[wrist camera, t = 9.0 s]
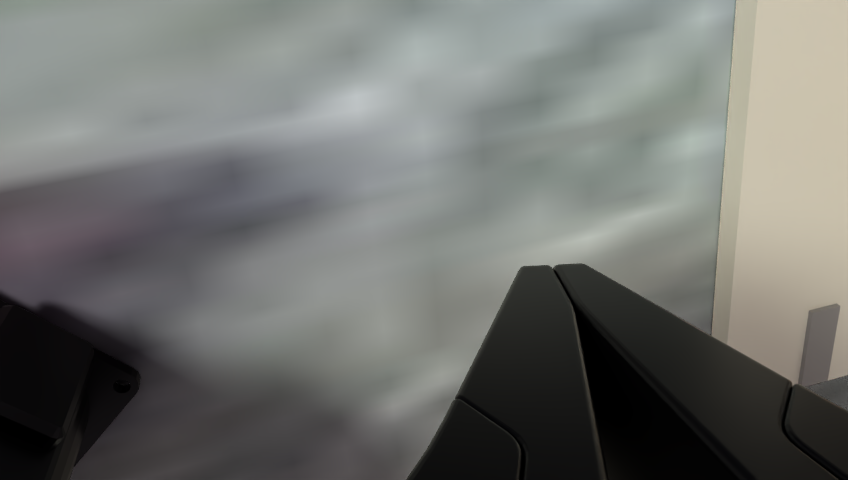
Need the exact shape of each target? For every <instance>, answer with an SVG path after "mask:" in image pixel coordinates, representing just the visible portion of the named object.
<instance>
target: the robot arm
mask: <svg viewBox="0 0 848 480" xmlns="http://www.w3.org/2000/svg"><path fill="white" fill-rule="evenodd" d="M117 380H126V381H128V382H129V383H130V384H129V385H124V386H123V385H119V384H118V383H117V382H116V381H117ZM139 385H140V375H139V373H138V371H136V370H135V369H134V368H132V367H130V366H128V365H126V364H124V363H122V362H120V361H119V360H117V359H115V358H113V357H111V356H109V355H107V354H105V353H103V352H101V351H99V350H97V349H95V348H93V347H92V345H91V344H90V343H89V342H87V341H85V340H83V339H81V338H79V337H77V336H75V335H73V334H71V333H69V332H67V331H65V330H63V329H61V328H59V327H57V326H55V325H54V324H52V323H50V322H48V321H46V320H44V319H42V318H40V317H38V316H36V315H34V314H32V313H30V312H28V311H26V310H24V309H22V308H20V307H19V306H16V305H9V304H7V303H5V302H3V301H1V300H0V480H70V477H71V473H72V470H73V467H74V466H75V465H76V464H77V463H78V462H79V460H80V459H81V458H82V457H83V456H84V454H85V453H86V452H87V451H88V450H89V449H90V447H91V446H92V445H93V444H94V443H95V442H96V440H97V439H98V438H99V437H100V436H101V434H102V433H103V432H104V431H105V430H106V429H107V427H108V426H109V425H110V424H111V423H112V422H113V420H114V419H115V418H116V417H117V416H118V414H119V413H120V412H121V411H122V410H123V409H124V407H125V406H126V405H127V404H128V403H129V401H130V400H131V399H132V398H133V397H134V396H135V394H136V393H137V391H138V389H139ZM406 480H848V411H847V410H845V409H843V408H841V407H839V406H838V405H836V404H834V403H832V402H830V401H828V400H827V399H825V398H823V397H821V396H819V395H818V394H816V393H814V392H812V391H811V390H809V389H807V388H805V387H804V386H802V385H800V384H794V385H793V387H792V382H791V381H790V380H789V379H787V378H785V377H784V376H782V375H780V374H778V373H776V372H775V371H773V370H771V369H769V368H768V367H766V366H764V365H762V364H761V363H759V362H757V361H755V360H753V359H752V358H750V357H748V356H746V355H745V354H743V353H741V352H739V351H738V350H736V349H734V348H732V347H730V346H729V345H727V344H725V343H723V342H722V341H720V340H718V339H716V338H715V337H713V336H711V335H709V334H707V333H706V332H704V331H702V330H700V329H699V328H697V327H695V326H693V325H692V324H690V323H688V322H686V321H684V320H683V319H681V318H679V317H677V316H676V315H674V314H672V313H670V312H669V311H667V310H665V309H663V308H662V307H660V306H658V305H656V304H654V303H653V302H651V301H649V300H647V299H646V298H644V297H642V296H640V295H639V294H637V293H635V292H633V291H631V290H630V289H628V288H626V287H624V286H623V285H621V284H619V283H617V282H616V281H614V280H612V279H610V278H608V277H607V276H605V275H603V274H601V273H600V272H598V271H596V270H594V269H593V268H591V267H589V266H587V265H585V264H581V263H580V264H561V265H556V266H555V267H554V268H553V269H552V267H550V266H548V265H541V266H523V267H521V268H520V270H519V271H518V273H517V275H516V277H515V279H514V281H513V283H512V285H511V287H510V289H509V291H508V293H507V295H506V297H505V299H504V301H503V303H502V305H501V307H500V309H499V311H498V313H497V315H496V317H495V319H494V321H493V323H492V325H491V327H490V329H489V331H488V333H487V335H486V337H485V339H484V341H483V343H482V345H481V347H480V349H479V351H478V353H477V355H476V357H475V359H474V361H473V363H472V365H471V367H470V369H469V371H468V373H467V375H466V377H465V379H464V381H463V383H462V385H461V387H460V389H459V391H458V394H457V396H456V398H455V400H454V401H453V402H452V404H451V406H450V408H449V410H448V412H447V414H446V416H445V418H444V420H443V422H442V423H441V425H440V427H439V429H438V430H437V432H436V434H435V436H434V438H433V439H432V441H431V443H430V445H429V446H428V448H427V450H426V452H425V453H424V454H423V456H422V457H421V459H420V460H419V462H418V463H417V465H416V466H415V468H414V469H413V471H412V472H411V473H410V475H409V476H408V478H407V479H406Z"/></svg>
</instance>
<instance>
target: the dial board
mask: <svg viewBox="0 0 848 480" xmlns="http://www.w3.org/2000/svg"><path fill="white" fill-rule="evenodd" d="M711 336H713V337H715V338H716V339H718V340H720V341H722V342H723V343H725V344H727V345H729V346H730V347H732V348H734V349H736V350H738V351H739V352H741V353H743V354H745V355H746V356H748V357H750V358H752V359H753V360H755V361H757V362H759V363H761V364H762V365H764V366H766V367H768V368H769V369H771V370H773V371H775V372H776V373H778V374H780V375H782V376H784V377H785V378H787V379H789V380H790V381H791V382H792V387H793V385H794V384H800V385H802V386H804V387H807V386H810V385H814V384H818V383H821V382H825V381H828V380H832V379H835V378H839V377H843V376H846V375H848V0H736V12H735V26H734V39H733V52H732V66H731V79H730V93H729V106H728V119H727V133H726V146H725V160H724V173H723V186H722V200H721V213H720V227H719V240H718V253H717V267H716V280H715V294H714V307H713V320H712V334H711Z"/></svg>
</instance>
